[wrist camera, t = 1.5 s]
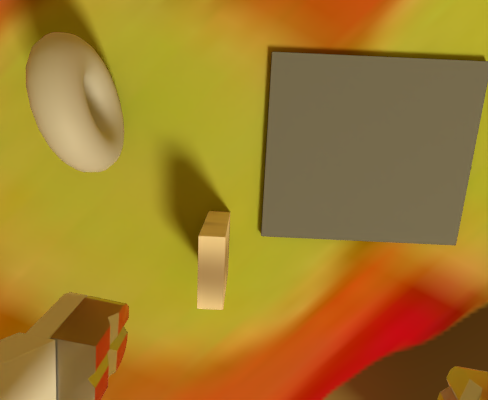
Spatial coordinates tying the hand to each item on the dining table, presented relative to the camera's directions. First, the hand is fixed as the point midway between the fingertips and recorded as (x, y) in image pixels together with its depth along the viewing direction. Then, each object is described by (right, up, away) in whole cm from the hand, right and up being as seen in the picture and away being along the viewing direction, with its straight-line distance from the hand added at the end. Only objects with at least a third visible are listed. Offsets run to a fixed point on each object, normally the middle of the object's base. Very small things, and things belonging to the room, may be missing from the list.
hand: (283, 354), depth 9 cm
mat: (+10, +8, +23) cm, 26 cm away
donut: (-13, +12, +22) cm, 29 cm away
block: (-3, 0, +25) cm, 25 cm away
